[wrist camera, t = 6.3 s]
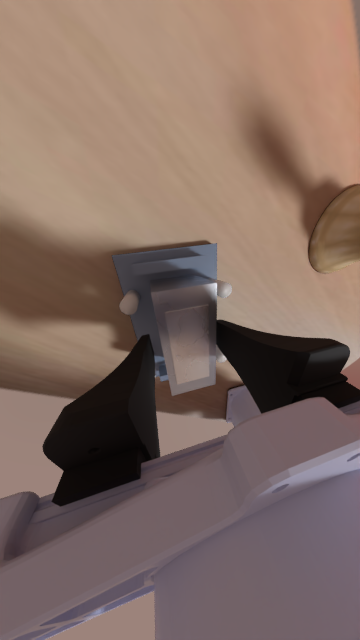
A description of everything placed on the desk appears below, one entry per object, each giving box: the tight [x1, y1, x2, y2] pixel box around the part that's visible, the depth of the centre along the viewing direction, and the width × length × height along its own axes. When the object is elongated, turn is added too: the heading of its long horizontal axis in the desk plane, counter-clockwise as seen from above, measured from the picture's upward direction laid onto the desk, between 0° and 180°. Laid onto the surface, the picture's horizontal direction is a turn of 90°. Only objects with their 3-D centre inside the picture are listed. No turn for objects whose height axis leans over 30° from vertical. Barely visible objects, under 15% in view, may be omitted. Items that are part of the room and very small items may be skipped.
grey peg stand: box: [112, 243, 232, 381], centre depth 13 cm, size 14×9×4 cm, turn 6°
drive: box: [150, 275, 217, 396], centre depth 12 cm, size 9×4×5 cm, turn 6°
